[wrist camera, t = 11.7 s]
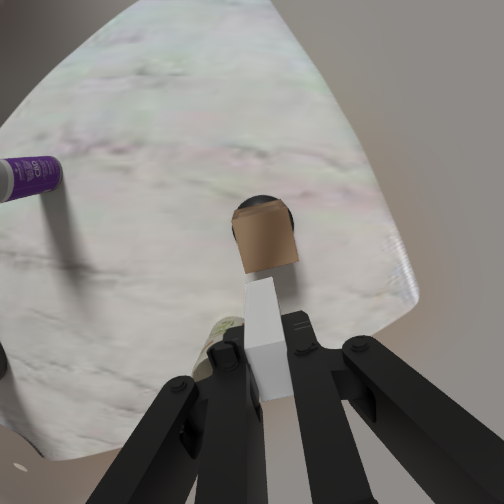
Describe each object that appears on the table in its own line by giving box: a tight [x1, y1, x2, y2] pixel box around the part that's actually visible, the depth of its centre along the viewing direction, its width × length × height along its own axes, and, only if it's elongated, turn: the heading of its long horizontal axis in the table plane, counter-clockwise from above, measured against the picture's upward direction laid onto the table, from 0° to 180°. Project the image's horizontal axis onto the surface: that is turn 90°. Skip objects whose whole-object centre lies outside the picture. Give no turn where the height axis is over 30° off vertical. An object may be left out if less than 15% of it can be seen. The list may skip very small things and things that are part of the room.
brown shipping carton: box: [231, 199, 299, 274], centre depth 33 cm, size 5×5×7 cm
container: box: [0, 156, 62, 203], centre depth 28 cm, size 5×5×15 cm
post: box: [232, 195, 294, 240], centre depth 34 cm, size 7×7×7 cm
